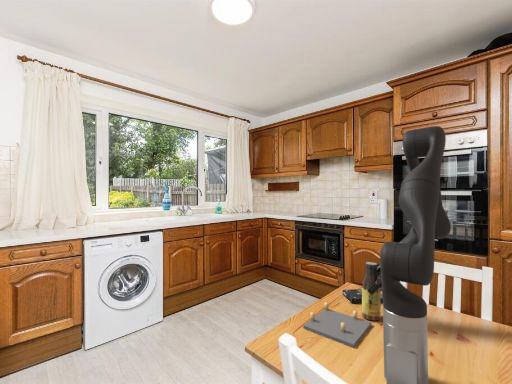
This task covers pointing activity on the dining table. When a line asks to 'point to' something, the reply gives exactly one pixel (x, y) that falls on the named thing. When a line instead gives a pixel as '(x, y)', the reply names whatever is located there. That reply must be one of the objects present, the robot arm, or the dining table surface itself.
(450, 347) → the dining table surface
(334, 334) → the standoff mount
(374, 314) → the sauce bottle
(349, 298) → the disk drive
